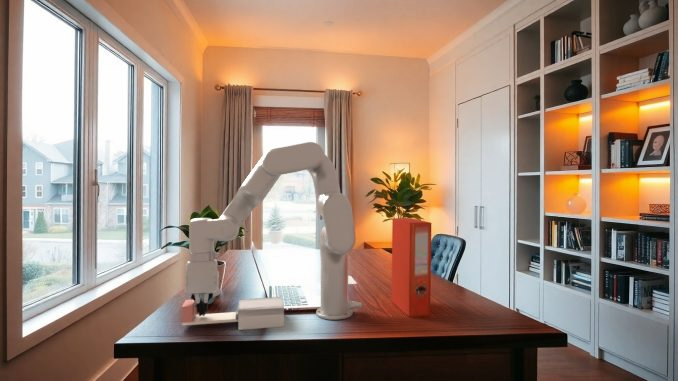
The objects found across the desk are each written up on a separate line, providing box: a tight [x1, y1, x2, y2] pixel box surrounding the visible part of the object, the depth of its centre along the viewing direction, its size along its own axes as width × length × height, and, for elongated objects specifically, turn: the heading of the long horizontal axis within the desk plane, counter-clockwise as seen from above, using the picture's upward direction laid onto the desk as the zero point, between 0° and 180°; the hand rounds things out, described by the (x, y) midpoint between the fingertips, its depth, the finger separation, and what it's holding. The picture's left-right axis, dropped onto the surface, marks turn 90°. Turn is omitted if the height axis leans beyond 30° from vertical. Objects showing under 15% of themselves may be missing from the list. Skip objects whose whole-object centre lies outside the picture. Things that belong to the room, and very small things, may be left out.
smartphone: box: [348, 275, 358, 286], centre depth 184 cm, size 7×1×15 cm
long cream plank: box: [181, 299, 238, 326], centre depth 127 cm, size 26×7×6 cm, turn 102°
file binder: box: [391, 217, 432, 318], centre depth 142 cm, size 8×17×32 cm, turn 12°
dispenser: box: [235, 296, 285, 331], centre depth 129 cm, size 15×12×6 cm
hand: (202, 314), depth 125 cm, fingers closed
